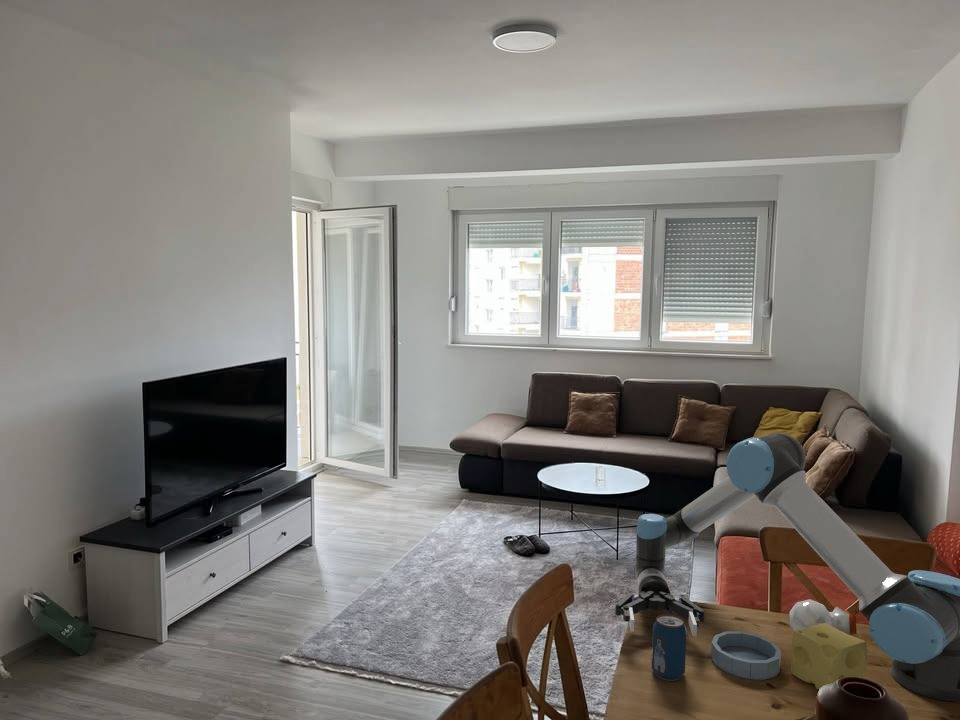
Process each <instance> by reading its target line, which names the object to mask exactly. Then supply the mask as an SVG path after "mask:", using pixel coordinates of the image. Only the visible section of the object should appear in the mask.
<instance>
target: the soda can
mask: <svg viewBox="0 0 960 720" xmlns="http://www.w3.org/2000/svg"><path fill="white" fill-rule="evenodd" d="M652 625H653V626H652V645H651V669H652V671H653V673H654V675H655V676H656V677H658V678H659V679H660V680H663V681H668V682H675V680H676V681H679V680H680V679H682V677H683V675H684V674H685V672H686V656H687V655H686V653H687V633H688V632H687V630H688V629H687V628H686V625H685V621H684V619H683V617H681V616H679V615H678V616H677V614H672V613H668V614H667V613H665V614H664V613H663V614H659V615H657V616H656V617H655V622H654V623H653V624H652Z"/></svg>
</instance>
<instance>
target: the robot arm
mask: <svg viewBox="0 0 960 720" xmlns="http://www.w3.org/2000/svg"><path fill="white" fill-rule="evenodd" d="M806 462H807V457H806V452H805V449H804V447H803V446H802V444H801V442H800V441H798V440H797V439H796V437H794V436H792V435H789V434H787V433H780V432H774V433H769V434H766V435H765V434H764V435H761V436H757V437H749V438H746V439H743V440H742V441H740V442H737V443H736V444H734V445H733V446H732V447H731V449H730V451H729V453H728V454H727V457H726V471H727V472H726V473H727V475H728V476H727V477H726V478H724V479H723V480H722V481H720V482H719V483H717V484H715V485H714V486H713V487H711V488H710V489H709V490H707V491H705V492H704V493H703V494H701V495H700V496H698V497H697V498H695V499H694V500H693V501H692V502H690V503H688V504H686V506H684V507H683V508H681V509H679V510H678V511H677V512H676V513H674V514H673V515H669V516H668V517H664V516H663V515H660V514H656V513H644V514H640V515H639V517H638V519H637V525H636V549H635V550H636V551H635V552H636V553H635V563H634V566H633V567H634V568H633V569H634V570H633V574H634V576H635V577H634V578H635V579H636V585H637V590H638V594H635V593H633V590H627V592H626V593H627V594H626V595H625V596H623V597H622V598H621V599H619V601H617V602H616V603H615V615H616V616H621V615H622V617H623V618H622V620H623V622H628V623H629V625H628V626H629V631H630V632H635V617H634V615H635V614H637V613H639V612H641V611H643V612H645V611H648V610H661V611H665V612H667V613H668V614H672V613H674V615H676V616H677V615H678V617H680V618H682V619H683V618H684V619H685V620H687V621H688V626H689V629H690V631H691V634H692V637H697V632H698V628H700V623H703V622H705V610H704V609H702V608H701V607H700V606H698V605H697V604H695V603H694V602H692V601H691V600H690V599H688V598H687V597H686V595H685V594H679V596H678V597H674V595H672V594H671V590H670V587H669V583H668V581H667V577H666V574H665V569H666V565H665V564H666V552H667V551H666V549H667V548H668V549H669V548H671V547H674V546H677V545H678V544H682V543H685V542H690V541H691V540H693V539H695V538H697V537H698V536H699V535H700V532H702V531H703V530H706V529H707V528H708V527H710V526H711V525H713V524H714V523H716V522H718V521H719V520H721V519H722V518H724V517H725V516H727V515H729V514H730V513H732V512H733V511H734V510H736V509H738V508H739V507H740V506H742V505H744V504H745V503H747V502H749V501H751V499H753V498H757V499H758V500H759V501H760V502H761V503H762V504H763V505H764V506H767V507H773V508H776V509H777V511H778V512H779V513H780V514H781V515H782V517H783V518H784V519H785V520H786V521H788V523H789V524H790V525H791V526H792V527H793V529H795V531H797V533H798V534H799V535H800V536H801V537H802V538H803V539H804V541H805V542H806V543H807V544H808V545H809V546H810V547H811V548H812V549H813V551H815V553H816V554H817V555H818V556H819V557H820V558H821V559H822V560H823V562H825V563H826V565H827V566H828V567H829V568H830V569H831V570H832V571H833V572H834V573H835V574H836V576H837V577H838V578H839V579H840V580H841V581H842V582H843V583H844V584H845V586H846V587H847V588H848V590H850V591H851V592H852V593H853V594H854V596H856V598H857V599H858V609H859V612H860V613H861V614H862V615H863V616H864V618H865V619H866V620H867V621H868V627H869V634H870V636H871V638H872V641H873V642H874V643H875V645H876V646H877V647H878V648H879V649H880V650H881V651H882V652H883V653H884V654H886V656H888V657H890V658H892V661H891V666H890V667H891V669H890V674H891V675H892V678H894V680H895V681H896V682H897V683H898V684H900V685H902V687H904V688H906V689H908V690H910V691H912V692H914V693H916V694H919V695H921V696H924V697H926V698H931V699H935V700H940V701H944V700H945V702H953V703H955V702H957V703H958V702H960V578H957V577H954V576H951V575H949V574H943V573H940V572H934V571H929V570H921V569H917V570H916V569H915V570H911V571H909V572H908V574H907V575H904V574H898V573H894V572H893V571H892V570H890V568H889V567H888V566H887V565H886V564H885V563H884V562H882V560H881V559H880V558H879V557H878V555H876V554H875V553H874V551H872V550H871V549H870V547H869V546H868V545H867V544H866V543H865V542H864V541H863V540H862V539H861V538H860V537H859V536H858V535H857V534H856V533H855V532H854V531H853V530H852V529H851V528H850V527H849V526H848V525H847V523H845V521H843V519H842V518H841V517H840V516H839V515H838V514H837V513H836V512H835V511H834V510H833V509H832V508H831V507H830V506H829V505H828V504H827V502H825V501H824V500H823V499H822V498H821V496H819V494H818V493H816V491H815V490H813V488H812V487H811V486H810V485H809V484H808V483H807V482H806V480H807V479H806V474H807V473H806V471H805V470H804V469H805V467H806Z"/></svg>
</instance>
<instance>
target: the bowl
mask: <svg viewBox="0 0 960 720" xmlns="http://www.w3.org/2000/svg"><path fill="white" fill-rule="evenodd" d="M710 649H711V650H710V651H711V653H710V656H711V661H712V663H713V664H714V665H715V666H716V667H717V668H718V669H720V670H722V671H723V672H725V673H727V674H729V675H731V676H733V677H737V678H741V679H746V680H752V681H763V680H764V681H765V680H769V679H773V678H775V677H777V676H778V674H779V673H780V668H781V661H782V660H781V659H782V657H781V656H782V650H781V648H780V647H778V645H777V644H776V643H775V642H773V641H772V640H770V639H768V638H766V637H763V636H761V635H759V634H754V633H751V632H747V631H741V630H739V631H737V630H736V631H735V630H734V631H733V630H732V631H723V632H721V633H718V634H715V635H714V636H713V638H712V641H711V648H710Z"/></svg>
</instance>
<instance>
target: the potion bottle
mask: <svg viewBox="0 0 960 720" xmlns="http://www.w3.org/2000/svg"><path fill="white" fill-rule="evenodd" d="M856 617H857V616H856V615H855V614H853V613H851V612H850V611H848V610H847V609H845V608H843V609H841V608H840V607H838V606H835V607H834V609H833V610H832V611H829V610H828V609H827V608H826V606H825V605H824V604H822V603H821V602H818V601H815V600H813V599H811V598H810V599H805V600H801V601H798V602H795V604H794V605H793V606H792V608H791V610H790V611H789V626H790V628H791V629H792V632H793V631H794V630H799V629H804V628H808V627H812V626H815V625H818V624H823V623H826V624H828V625H830V626H832V627H834V628H836V629H838V630H840V631H842V632H844V633H846V634H849V635H851V636H853V635H857V633H858V632H857V618H856Z"/></svg>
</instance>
